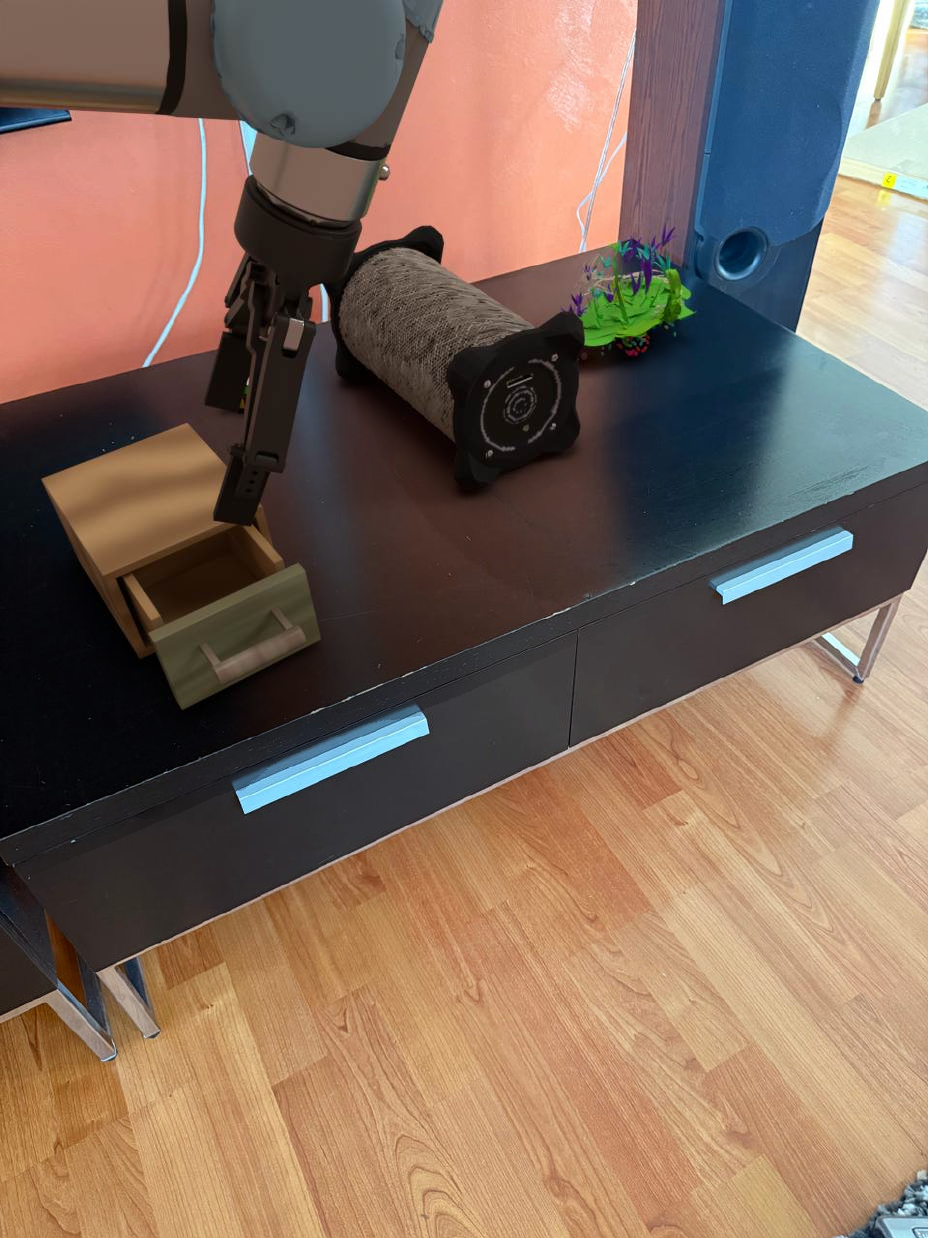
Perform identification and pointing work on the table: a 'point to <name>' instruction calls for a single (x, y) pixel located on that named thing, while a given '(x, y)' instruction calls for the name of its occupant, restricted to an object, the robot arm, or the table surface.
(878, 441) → the table surface
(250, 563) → the drawer
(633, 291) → the diorama
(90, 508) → the cabinet
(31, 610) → the table surface
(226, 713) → the table surface
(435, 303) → the speaker
